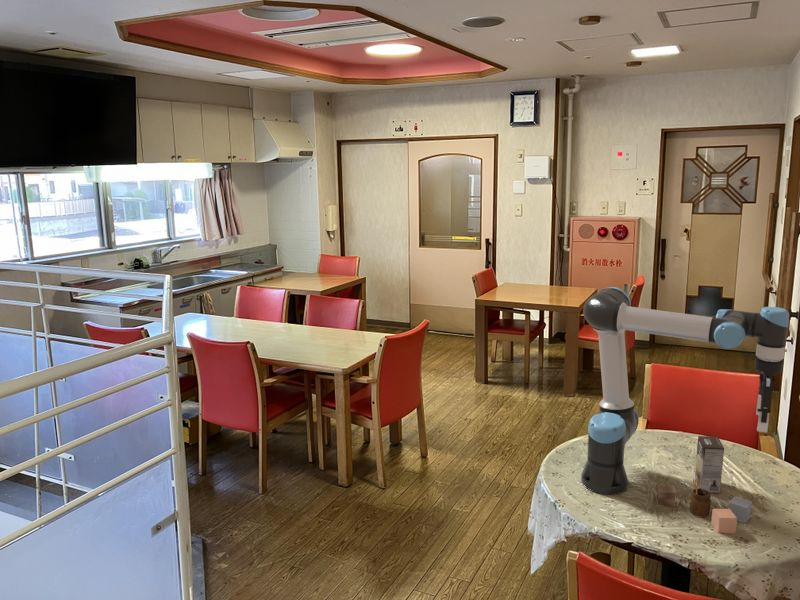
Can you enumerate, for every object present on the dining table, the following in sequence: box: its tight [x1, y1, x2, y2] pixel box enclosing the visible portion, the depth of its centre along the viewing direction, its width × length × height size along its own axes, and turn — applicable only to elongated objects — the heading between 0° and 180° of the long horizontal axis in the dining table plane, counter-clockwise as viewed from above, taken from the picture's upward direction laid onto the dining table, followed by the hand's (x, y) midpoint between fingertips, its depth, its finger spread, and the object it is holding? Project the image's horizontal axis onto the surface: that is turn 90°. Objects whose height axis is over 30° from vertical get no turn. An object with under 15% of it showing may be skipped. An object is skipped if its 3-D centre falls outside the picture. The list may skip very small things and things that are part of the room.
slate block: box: [728, 496, 753, 524], centre depth 201 cm, size 5×5×5 cm
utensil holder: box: [689, 478, 712, 518], centre depth 203 cm, size 6×6×12 cm
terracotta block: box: [710, 508, 738, 534], centre depth 195 cm, size 5×5×5 cm
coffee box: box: [694, 435, 725, 494], centre depth 218 cm, size 9×6×16 cm
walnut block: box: [656, 483, 677, 508], centre depth 210 cm, size 5×5×5 cm
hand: (761, 423), depth 205 cm, fingers open, 13 cm apart
